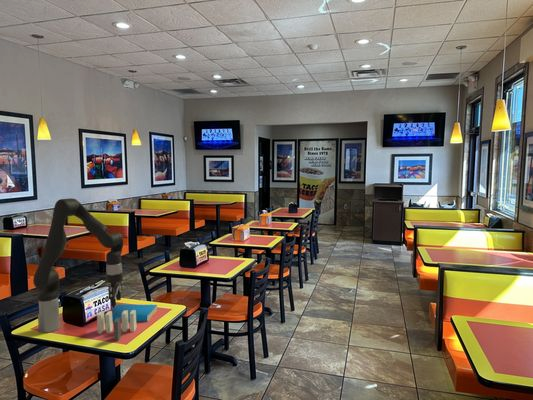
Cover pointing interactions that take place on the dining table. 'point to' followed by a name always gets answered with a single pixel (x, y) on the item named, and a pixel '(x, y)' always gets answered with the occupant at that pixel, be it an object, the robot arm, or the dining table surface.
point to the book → (141, 311)
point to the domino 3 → (117, 329)
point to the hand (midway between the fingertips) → (116, 303)
